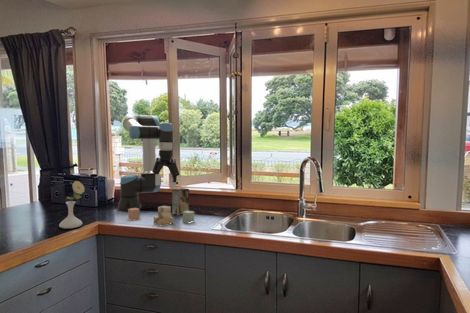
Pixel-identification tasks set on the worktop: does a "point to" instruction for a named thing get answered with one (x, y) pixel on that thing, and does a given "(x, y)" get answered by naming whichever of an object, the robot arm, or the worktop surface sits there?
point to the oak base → (163, 220)
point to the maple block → (164, 212)
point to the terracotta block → (133, 213)
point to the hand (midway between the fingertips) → (165, 186)
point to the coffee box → (180, 201)
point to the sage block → (188, 216)
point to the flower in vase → (71, 219)
